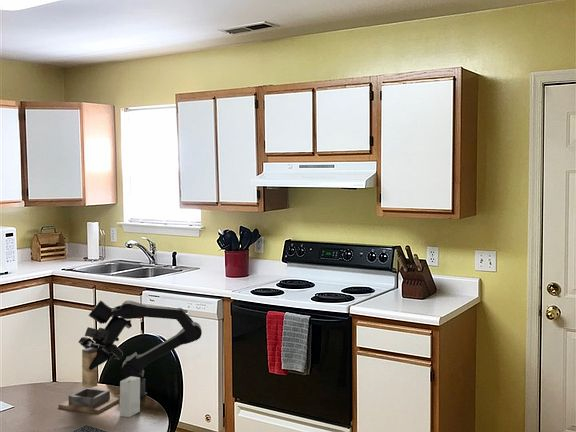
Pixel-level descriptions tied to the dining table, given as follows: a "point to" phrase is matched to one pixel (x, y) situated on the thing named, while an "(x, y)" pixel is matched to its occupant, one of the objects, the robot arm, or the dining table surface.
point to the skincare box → (129, 396)
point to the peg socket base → (89, 400)
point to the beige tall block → (88, 375)
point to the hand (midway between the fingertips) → (86, 368)
